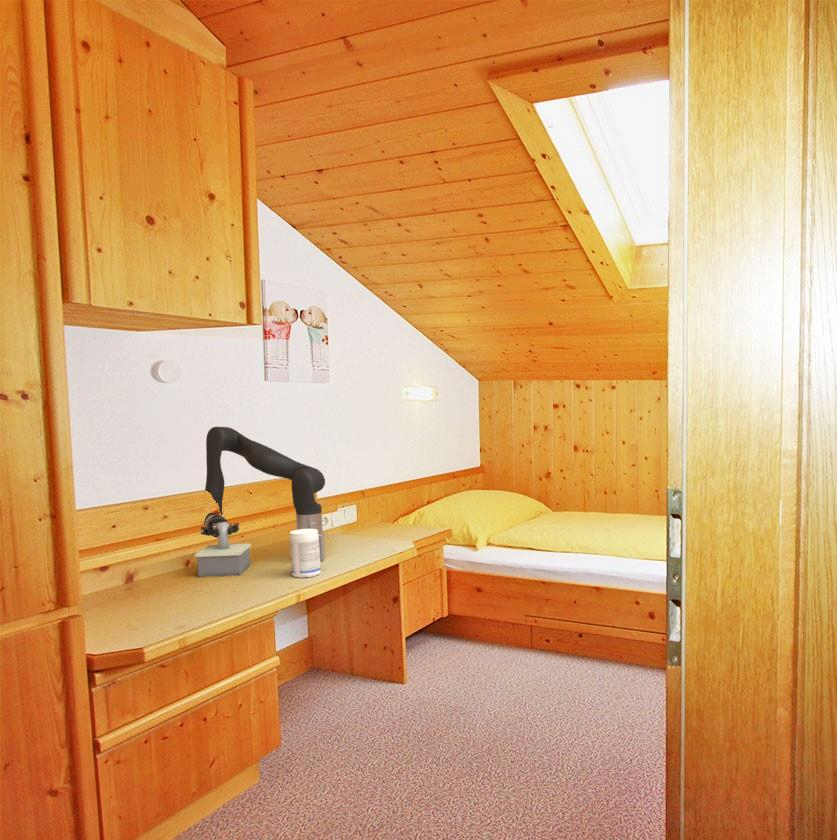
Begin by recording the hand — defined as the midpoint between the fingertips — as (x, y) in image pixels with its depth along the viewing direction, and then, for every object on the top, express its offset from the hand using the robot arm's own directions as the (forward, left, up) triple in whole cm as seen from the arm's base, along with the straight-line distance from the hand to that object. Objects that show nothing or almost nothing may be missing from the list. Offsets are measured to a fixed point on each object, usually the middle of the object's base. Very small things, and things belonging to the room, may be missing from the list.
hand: (224, 532), depth 246 cm
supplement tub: (-29, +7, -14) cm, 33 cm away
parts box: (+1, -3, -14) cm, 14 cm away
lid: (+1, -3, -7) cm, 8 cm away
